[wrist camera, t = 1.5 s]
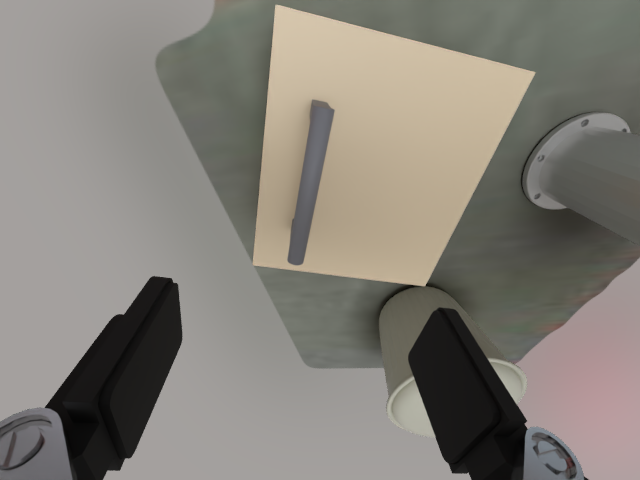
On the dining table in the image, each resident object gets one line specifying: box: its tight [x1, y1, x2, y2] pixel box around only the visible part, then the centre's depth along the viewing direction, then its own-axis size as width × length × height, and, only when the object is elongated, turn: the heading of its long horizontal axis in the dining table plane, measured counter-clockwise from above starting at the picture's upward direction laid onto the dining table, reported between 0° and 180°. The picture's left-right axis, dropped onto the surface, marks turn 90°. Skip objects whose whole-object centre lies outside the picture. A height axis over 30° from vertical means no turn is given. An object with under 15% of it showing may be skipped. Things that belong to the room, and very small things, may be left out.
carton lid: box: [253, 5, 536, 286], centre depth 23 cm, size 20×22×6 cm
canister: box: [379, 286, 527, 438], centre depth 41 cm, size 18×18×21 cm
